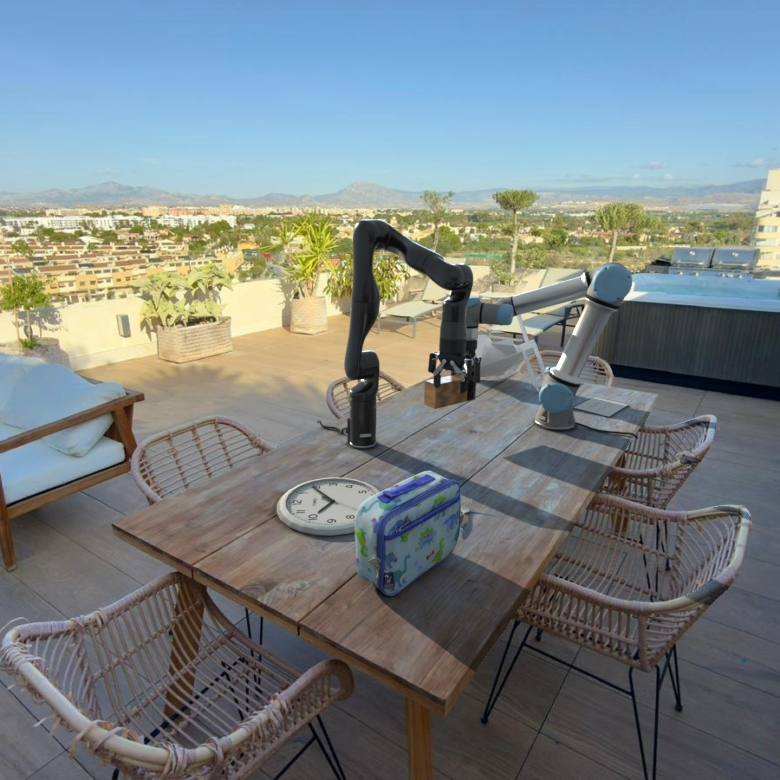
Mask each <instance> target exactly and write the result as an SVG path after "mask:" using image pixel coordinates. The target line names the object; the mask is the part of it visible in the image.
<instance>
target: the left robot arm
mask: <svg viewBox="0 0 780 780" xmlns="http://www.w3.org/2000/svg"><path fill="white" fill-rule="evenodd" d="M379 251H386V252H389V253H391V254H394V255H396V256H398V257H399V258H400V259H401V260H402V261H403V262H404V263H405V264H406V265H407V266H408V267H409V268H410V269H412V270H413V271H415V272H417V273H419V274H421V275H422V276H424V277H428V278H429V279H430V280H431V282H433V284H435V285H436V286H437V287H440V288H441V289H443V290H445V291H449V294H448V297H447V298H445V299H444V300H443V301H442V304H441V319H440V320H441V321H440V326H439V341H438V342H439V343H438V351H439V353H438V352H437V351H434V352H430V353H429V355H428V356H429V357H428V367H427V372H428V373H430V374H432V375H433V379H434V386H435V388H439V387H440V386H441V377H442V373H443V371H450V372H451V371H452V372H456V373H457V375H459V377H460V379H461V382H460V393H461V394H463V393H465V392H466V391H467V386H468V381H470V380H472V379H474V378H475V360H474V359H465V348H466V336H467V333H466V332H467V326H466V317H467V304H468V301H469V298H470V296H471V294H472V291H473V286H474V273H473V270H472V268H471V267H470V265H468V264H466V263H454V264H452V263H449V262H447V261H445V259H444V257H443V256H442V255H441V254H440V253H438V252H436V251H434V250H432V249H429V248H428V247H425V246H423V245H421V244H419V243H417V242H415V241H414V240H412V239H410V238H408V237H407V236H405V235H404V234H403V233H401V232H399V230H398V229H396V228H395V227H393V226H392V225H391V224H389V223H388V222H386V221H385V220H383V219H376V218H375V219H361V220H359V221H357V223H356V224H355V226H354V228H353V232H352V268H353V269H352V285H351V295H350V311H349V327H348V335H347V342H346V346H345V347H346V348H345V354H344V362H343V366H344V367H343V368H344V369H343V370H344V374H345V376H346V377H347V379H349V381H358V383H356V384H355V385H354V386H352V387H351V388H350V390H349V416H348V417H347V419H346V421H347V422H346V424H347V426H345V427H343V428H342V429H340V428H339V427H336V426H329V425H324V424H323V423H322V421H321V420H317V421H316V423H317V424H319V425H320V426H321V427H322V428H325V429H331V430H336V431H338V433H339V434H344V431H345V434H347V435H346V436H347V439H346V440H347V445H349V446H350V447H352V448H354V449H357V450H358V449H360V450H366V449H371V448H374V447H376V446H377V402H378V401H377V395H378V391H379V387H380V370H381V368H380V367H381V365H380V358H379V356H378V354H377V353H376V352H375V351H374V350H371V349H369V350H363V348H364V344H365V341H366V338H367V337H368V335H369V333H370V332H371V330H372V328H373V327H374V326H375V324H376V322H377V320H378V318H379V314H380V307H381V290H380V288H379V284H378V282H377V280H376V279H377V278H376V276H375V273H374V264H373V263H374V255H375V252H379ZM437 361H439V364H438V363H437ZM464 363H465V364H466V366H467V373H466V369H465V368H464V366H463V364H464ZM437 364H438V365H437ZM459 369H460V370H461V371H460V370H459Z"/></svg>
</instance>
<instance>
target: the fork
mask: <svg viewBox="0 0 780 780" xmlns="http://www.w3.org/2000/svg"><path fill="white" fill-rule="evenodd" d="M465 498H466V497H464V498H463V501H462V504H461V508H460V512H462V514H460V526H461V525H462V524H463V520H464V515H465V514H467V513H470V512H471V509H472V504H473V500H471V498H469V499H466V500H465ZM470 500H471V501H470Z"/></svg>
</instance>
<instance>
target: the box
mask: <svg viewBox="0 0 780 780" xmlns="http://www.w3.org/2000/svg"><path fill="white" fill-rule="evenodd" d="M460 382H461V379H460V377H459V375H457V374H456V375H451V374H450V375H447V376H441V386H440V387H439V388H435V386H434V378H431V379H426V380H425V379H424V395H423V405H425V406H427V407H429V408H432V409H434V410H437V409H442V408H445V407H449V406H453V405H458V404H463V403H466V402H470V401H475V400H476V395H477V393H476V392H477V384H476V385H475V392H474V399H473V400H469V401H468V400H467V393H468V386H467V391H466V392H465V393H463V394H461V393H460ZM468 383H470V381H468Z"/></svg>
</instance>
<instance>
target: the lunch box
mask: <svg viewBox="0 0 780 780" xmlns="http://www.w3.org/2000/svg"><path fill="white" fill-rule="evenodd" d="M380 491H381V492H379V493H377V494H375V495H373V496H371V497H369V498H367V499H366V500H364V501H363V502H362V504H361V505H360V506H359V508H358V510H357V513H356V516H355V532H354V543H355V545H354V546H355V548H354V551H355V552H354V553H355V570H356V573H357V577H359V578H360V579H361V580H362V581H363V580H364V581H365V582H367V583H369V584H371V585H373V586H374V587H375V588H377V589H379V591H380V592H381V593H382V594H384V595H386V596H387V597H394V596H396V595H398V594H399V593H400V592H402V591H403V590H404V589H405V588H407V587H408V586H409V585H410V584H412V583H413V582H414V581H416V580H417V579H418V578H421V576H423V575H424V574H425V573H427V572H428V571H429V570H430V569H431V568H432V567H434V566H435V565H437V564H438V563H440V562H442V561H443V560H445V559H446V558H448V557H449V556H450V555H451V554H452V552H453V551H454V550H455V548H456V545H457V544H458V540H459V537H460V529H461V525H460V516H461V507H462V504H461V485H460V483H459V482H458V481H457V480H456V479H449V478H446V477H444V476H442V475H440V474H439V473H437V472H434V471H432V470H425V471H422V472H419V473H417V474H415V475H413V476H410V477H408V478H406V479H403V480H401V481H400V482H398V483H395V484H393V485H392V486H389V487H387V488H385V489H384V490H380Z"/></svg>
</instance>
